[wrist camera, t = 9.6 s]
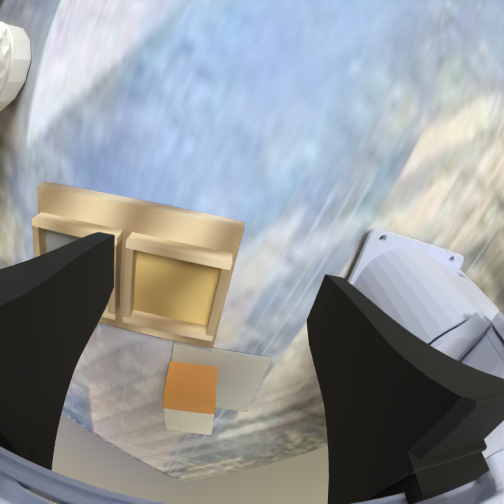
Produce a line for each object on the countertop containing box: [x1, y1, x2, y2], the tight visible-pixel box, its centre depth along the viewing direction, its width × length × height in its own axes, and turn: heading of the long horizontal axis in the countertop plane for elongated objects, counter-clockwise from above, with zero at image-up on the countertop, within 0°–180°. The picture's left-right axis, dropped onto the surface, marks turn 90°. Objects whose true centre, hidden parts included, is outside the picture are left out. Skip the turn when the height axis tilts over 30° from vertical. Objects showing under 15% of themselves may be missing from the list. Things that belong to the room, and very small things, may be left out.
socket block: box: [32, 182, 244, 348], centre depth 19 cm, size 14×10×2 cm
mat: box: [172, 341, 271, 412], centre depth 26 cm, size 8×8×1 cm
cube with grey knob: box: [163, 361, 217, 435], centre depth 24 cm, size 4×4×5 cm
